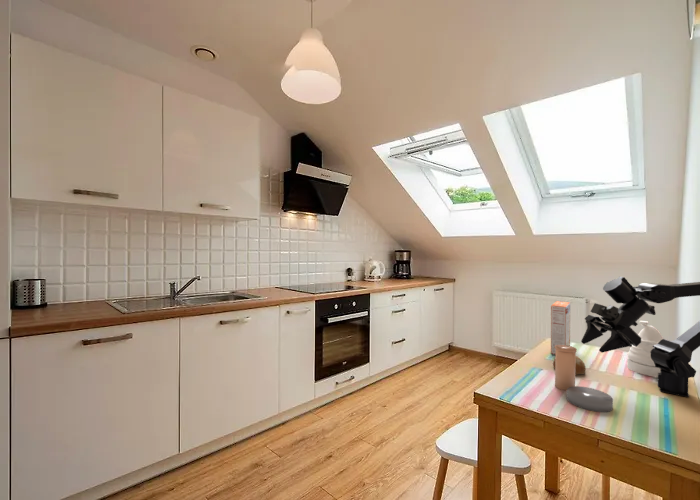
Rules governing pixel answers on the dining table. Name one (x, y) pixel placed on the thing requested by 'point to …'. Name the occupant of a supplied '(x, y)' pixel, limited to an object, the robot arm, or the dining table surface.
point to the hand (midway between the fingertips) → (590, 346)
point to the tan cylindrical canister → (565, 366)
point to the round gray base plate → (589, 399)
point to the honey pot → (644, 351)
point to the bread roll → (577, 366)
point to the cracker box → (560, 324)
